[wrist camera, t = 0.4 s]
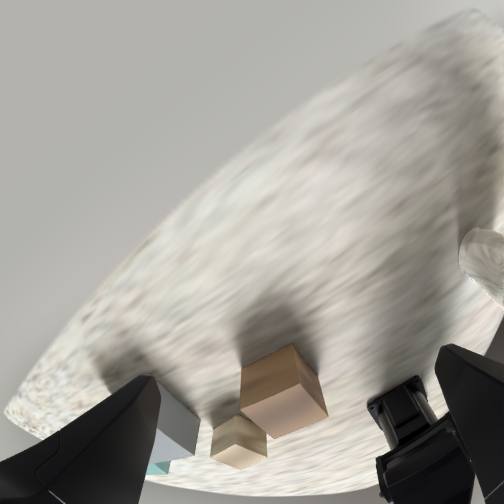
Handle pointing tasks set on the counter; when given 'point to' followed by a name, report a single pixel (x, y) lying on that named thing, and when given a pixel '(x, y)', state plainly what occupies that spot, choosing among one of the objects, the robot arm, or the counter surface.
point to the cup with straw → (484, 261)
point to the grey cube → (174, 430)
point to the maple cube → (238, 443)
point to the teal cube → (158, 468)
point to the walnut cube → (281, 393)
